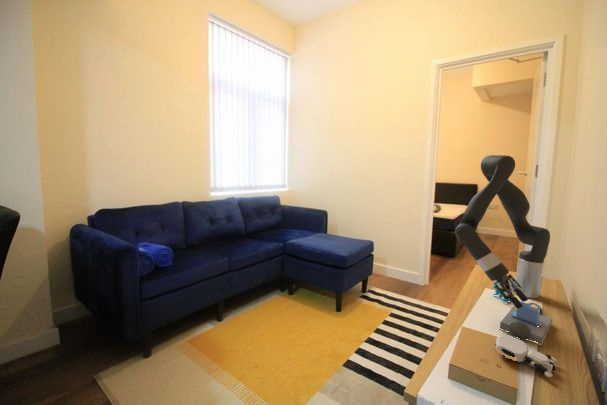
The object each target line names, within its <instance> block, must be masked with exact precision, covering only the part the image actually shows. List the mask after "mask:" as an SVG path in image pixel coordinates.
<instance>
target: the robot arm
mask: <svg viewBox="0 0 607 405" xmlns="http://www.w3.org/2000/svg"><path fill="white" fill-rule="evenodd" d="M515 168H516V161H515V159H514V157H512V156H510V155H506V154H505V155H502V154H500V155H498V154H497V155H495V154H494V155H493V154H492V155H491V154H490V155H487V156H485V157H483V158H482V159H481V161H480V170H481V173H482V174H483V176H484V178H485V179H486V180H487V182H488V183H487V184H486V185H485V186H484V187H483V188H482V189H481V190H480V191H478V192H477V193H476V194H475V195H473V197H472V198H471V199H470V201H469V203H468V205H467V206H466V209H465V210H464V212H463V216H462V218H461V220H460V221H459V223H458V225H457V226H456V227H455V230H454V234H455V237H456V238H457V240H459V241H460V242H461V244H463V245H464V247H465V248H466V249H467V251H468V252H469V253H470V255H471V257H472V258H473V260H475V262H476V263H477V264H478V266H479V268H480V269H481V270H482V271H483V273H484V274H485V275H486V276H487V277H488V279H489V280H490V281H491V282H493V281H494V282H495V281H497V282H498V284H496V285H495V286H496V287H497V289H498V290H499V291H500V292H501V294H502V295H503V296H504V297H503V299H504V298H505V299H509V300H510V301H511V302H510V303H512V304H513V306H514V305H515V307H516V308H521V307H522V306H523V305H522V304H521V302H524V303H525V302H527V301H528V300H529V299H538V298H539V297H540V296H541V290H542V289H541V288H542V283H543V277H542V276H543V275H542V274H543V268H544V262H545V259H546V256H547V255H548V253H547V252H548V250H549V246H550V241H551V233H550V231H549V230H548V229H547V228H545V227H540V226H535V225H532V224H531V223H529V222H528V220H527V215H528V213H529V211H530V208H531V205H530V202H529V200H528V199H527V197H526V194H525V193H524V192H523V190H521V188H520V187H518V186H517V185H516V184H514V183H512V182H511V180H509V178H510V177H511V176H512V174H513V172H514V171H515ZM496 196H497V197H498V200H499V201H500V203H501V205H502V207H503V209H504V211H505V212H506V214H507V216H508V218H509V220H510V222H511V224H512V227H513V229H514V231H515V234H516V238H517V239H518V240H519V242H520V243H522V244H524V245H528V246H531V249H530V250H522V251H520V252H519V254H518V262H517V268H516V274H515V275H516V276H515V278H514V277H513V275H512V274H509V273H510V270H509V269H508V268H507V266H506V265H505V264H504V263H503V262H502V261H501V259H500V258H499V257H498V256H497V255H496V254H495V253H494V252H493V251H492V249H491V248H489V246H488V245H487V244H486V243H485V242H484V241H483V240H482V238H481V237H480V236H479V234H478V233H477V232H476V231H477V228H478V226H479V224H480V222H481V221H482V219H483V218H484V216H485V214H486V212H487V210H488V208H489V206H490V205H491V203H492V201H493V200H494V198H495V197H496ZM505 294H506V295H505ZM515 294H516V295H515ZM518 298H519V299H520V300H519V299H518Z"/></svg>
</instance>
